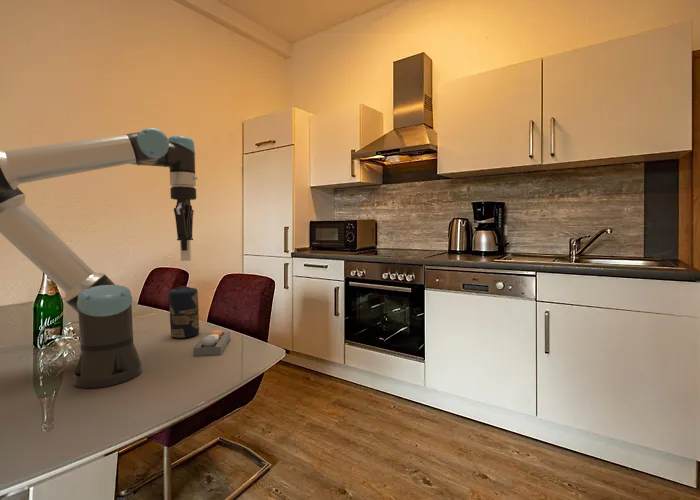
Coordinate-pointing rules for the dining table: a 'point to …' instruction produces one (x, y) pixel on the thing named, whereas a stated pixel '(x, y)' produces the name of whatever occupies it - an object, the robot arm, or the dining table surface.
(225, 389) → the dining table surface
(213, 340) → the slate button
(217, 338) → the cream button
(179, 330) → the canister
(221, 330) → the terracotta button
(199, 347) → the grey tray
